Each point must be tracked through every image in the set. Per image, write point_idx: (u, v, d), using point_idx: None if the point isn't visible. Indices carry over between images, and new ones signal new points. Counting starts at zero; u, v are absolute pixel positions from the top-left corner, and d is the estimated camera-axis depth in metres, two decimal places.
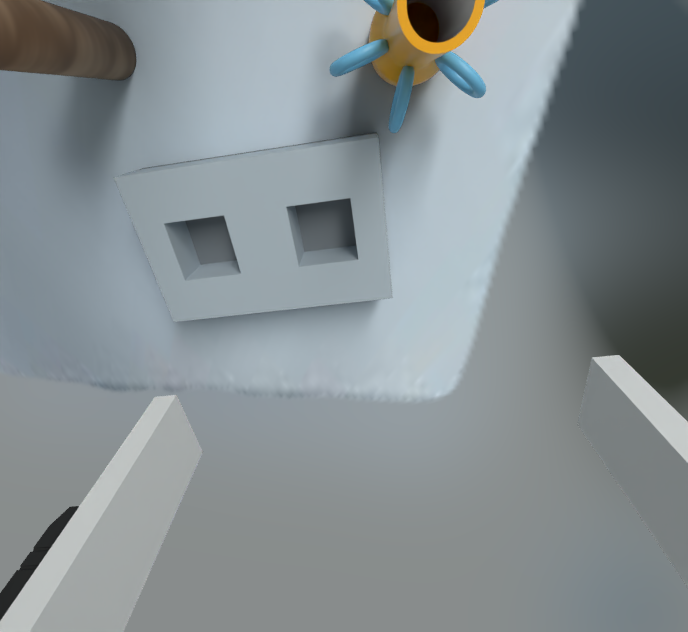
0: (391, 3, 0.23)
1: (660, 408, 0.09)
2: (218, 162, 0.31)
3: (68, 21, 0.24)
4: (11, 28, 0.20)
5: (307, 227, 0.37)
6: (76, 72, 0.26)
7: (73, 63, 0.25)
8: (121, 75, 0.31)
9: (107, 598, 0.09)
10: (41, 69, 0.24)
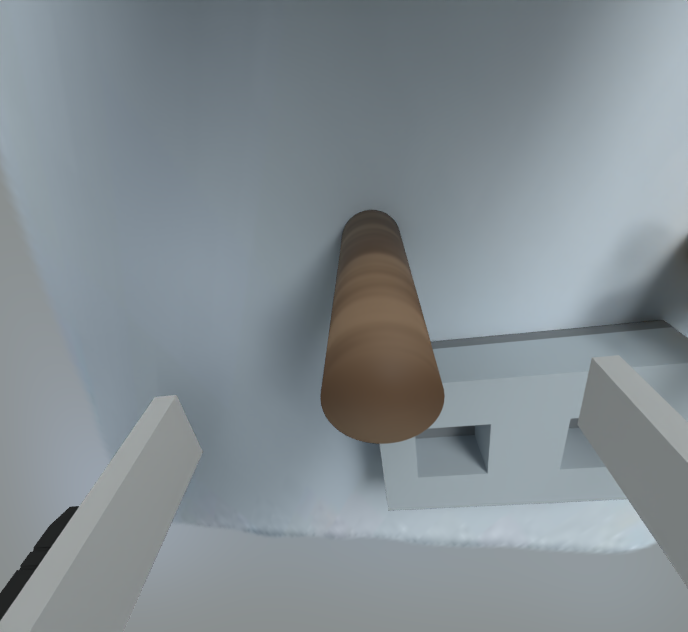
0: None
1: (660, 408, 0.09)
2: (506, 378, 0.25)
3: (410, 271, 0.19)
4: None
5: None
6: None
7: None
8: None
9: (107, 598, 0.09)
10: None
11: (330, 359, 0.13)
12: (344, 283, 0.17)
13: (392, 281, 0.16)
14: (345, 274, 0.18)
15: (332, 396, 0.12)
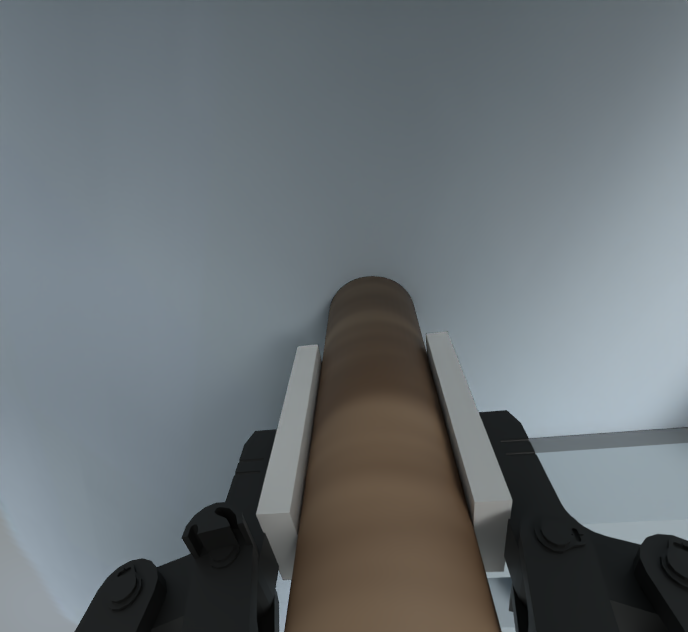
0: None
1: (452, 370, 0.12)
2: None
3: (443, 419, 0.11)
4: None
5: None
6: None
7: None
8: None
9: None
10: None
11: None
12: (322, 485, 0.08)
13: (421, 508, 0.07)
14: (325, 448, 0.09)
15: None
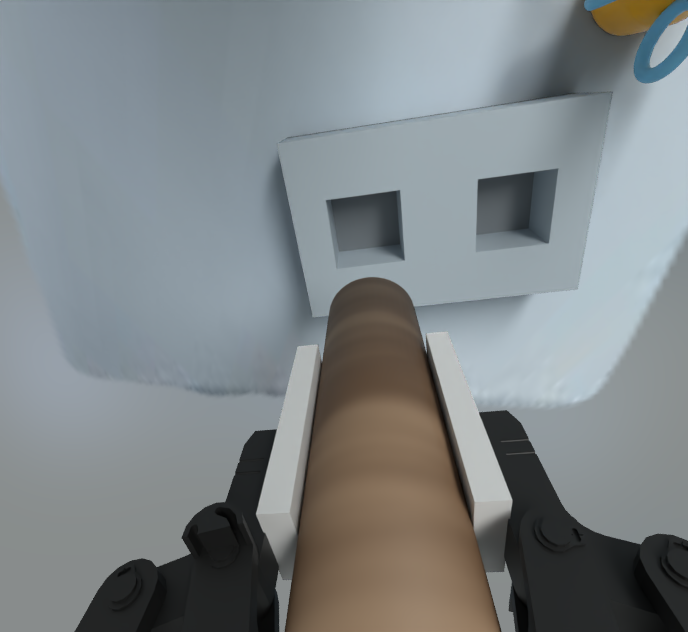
0: None
1: (452, 370, 0.12)
2: (408, 124, 0.25)
3: (443, 420, 0.11)
4: None
5: None
6: None
7: None
8: None
9: None
10: None
11: None
12: (322, 486, 0.08)
13: (421, 510, 0.07)
14: (326, 450, 0.09)
15: None
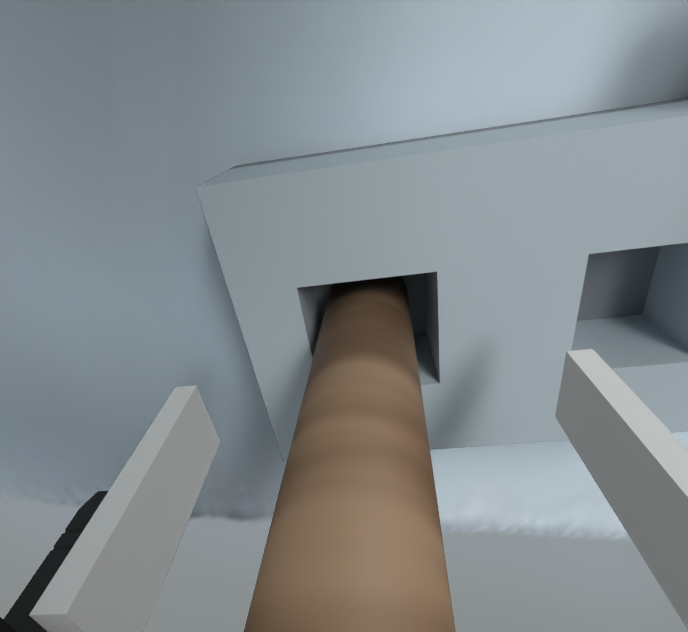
0: None
1: (627, 398, 0.10)
2: (459, 150, 0.12)
3: (418, 381, 0.12)
4: None
5: None
6: None
7: None
8: None
9: (138, 577, 0.09)
10: None
11: None
12: (307, 423, 0.10)
13: (382, 438, 0.09)
14: (312, 397, 0.11)
15: None
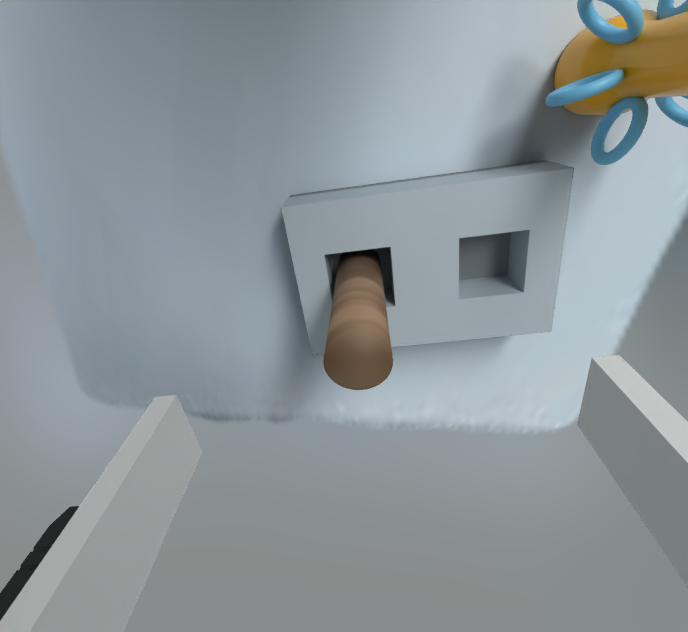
0: (640, 32, 0.22)
1: (660, 408, 0.09)
2: (396, 192, 0.29)
3: (382, 289, 0.29)
4: None
5: None
6: None
7: None
8: None
9: (107, 598, 0.09)
10: None
11: (329, 339, 0.22)
12: (338, 297, 0.27)
13: (367, 295, 0.25)
14: (339, 291, 0.27)
15: (330, 359, 0.22)
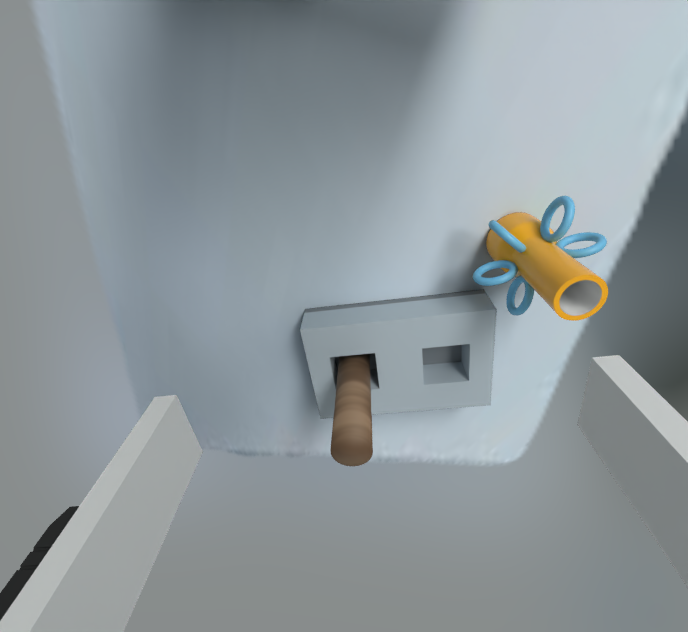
0: (525, 250, 0.36)
1: (660, 408, 0.09)
2: (378, 321, 0.43)
3: (369, 387, 0.43)
4: None
5: (424, 350, 0.49)
6: None
7: None
8: None
9: (107, 598, 0.09)
10: None
11: (334, 437, 0.36)
12: (339, 398, 0.41)
13: (358, 400, 0.40)
14: (340, 392, 0.41)
15: (334, 450, 0.36)
